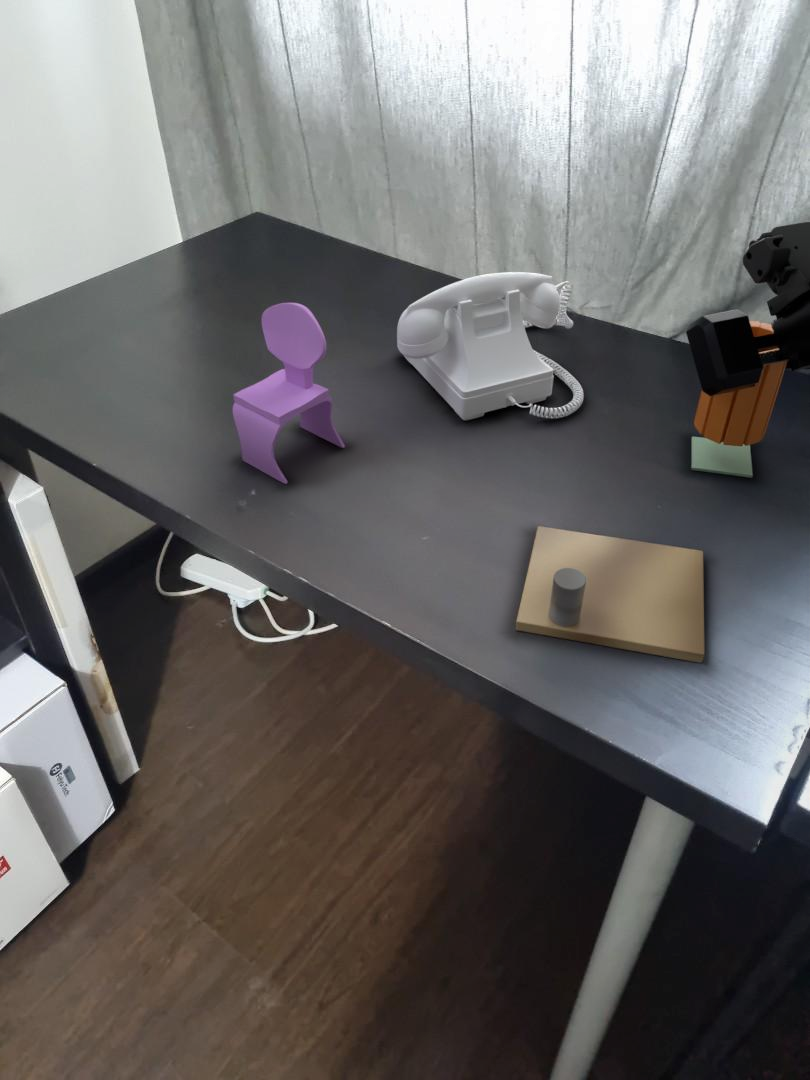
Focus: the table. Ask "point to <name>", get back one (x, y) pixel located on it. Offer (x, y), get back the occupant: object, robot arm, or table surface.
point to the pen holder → (741, 405)
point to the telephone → (488, 342)
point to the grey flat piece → (720, 458)
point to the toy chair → (285, 388)
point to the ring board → (615, 593)
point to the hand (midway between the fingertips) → (734, 368)
